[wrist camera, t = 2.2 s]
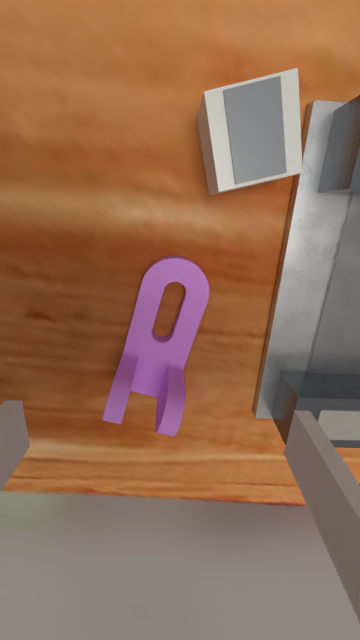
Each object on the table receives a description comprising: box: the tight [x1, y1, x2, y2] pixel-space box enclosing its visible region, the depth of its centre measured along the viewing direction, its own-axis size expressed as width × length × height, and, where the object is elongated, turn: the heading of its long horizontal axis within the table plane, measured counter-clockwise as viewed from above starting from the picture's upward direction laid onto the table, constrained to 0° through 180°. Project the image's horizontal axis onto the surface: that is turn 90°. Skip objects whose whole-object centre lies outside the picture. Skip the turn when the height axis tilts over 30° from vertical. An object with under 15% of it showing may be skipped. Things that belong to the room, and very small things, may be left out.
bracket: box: [102, 256, 209, 436], centre depth 22 cm, size 13×6×7 cm, turn 163°
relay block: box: [197, 68, 303, 196], centre depth 18 cm, size 5×5×5 cm
